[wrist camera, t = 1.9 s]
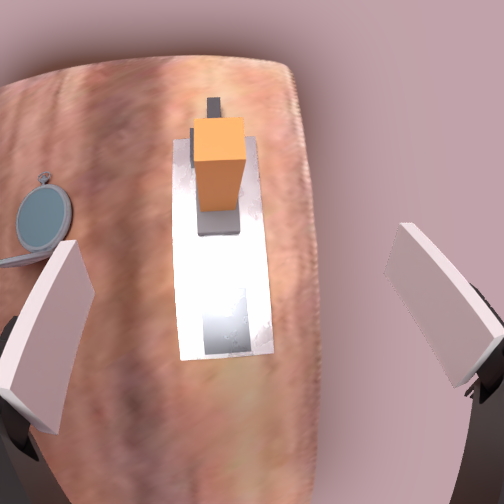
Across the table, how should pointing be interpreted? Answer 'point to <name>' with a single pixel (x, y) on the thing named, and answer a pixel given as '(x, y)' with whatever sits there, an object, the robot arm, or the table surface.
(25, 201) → the pocket watch
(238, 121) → the handle
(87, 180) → the table surface
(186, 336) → the base
